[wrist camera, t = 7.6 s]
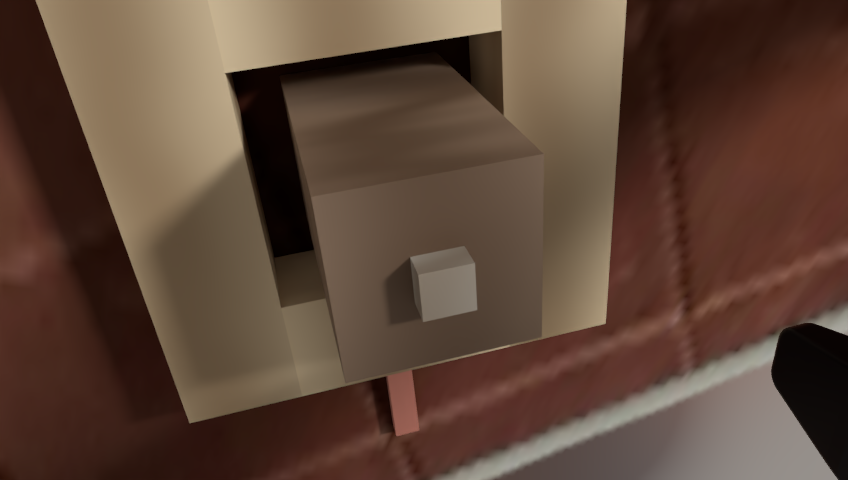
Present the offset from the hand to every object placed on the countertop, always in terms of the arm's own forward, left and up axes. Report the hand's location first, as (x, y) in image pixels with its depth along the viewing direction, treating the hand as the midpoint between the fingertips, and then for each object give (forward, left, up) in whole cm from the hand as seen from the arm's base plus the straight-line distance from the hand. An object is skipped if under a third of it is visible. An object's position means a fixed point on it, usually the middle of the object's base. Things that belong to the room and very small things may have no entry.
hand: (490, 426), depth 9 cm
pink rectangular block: (0, +8, -11) cm, 13 cm away
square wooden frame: (0, 0, -11) cm, 11 cm away
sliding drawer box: (0, 0, -11) cm, 11 cm away
